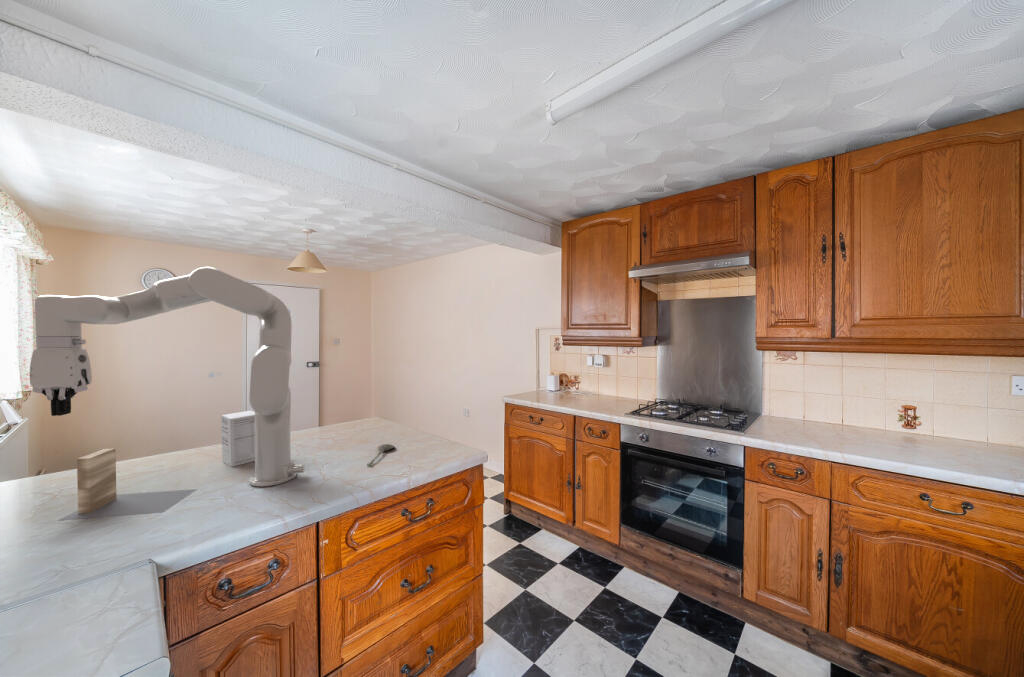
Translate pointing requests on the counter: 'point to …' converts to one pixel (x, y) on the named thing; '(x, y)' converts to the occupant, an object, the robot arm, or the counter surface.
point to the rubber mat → (135, 504)
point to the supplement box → (238, 438)
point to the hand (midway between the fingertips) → (61, 414)
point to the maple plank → (96, 480)
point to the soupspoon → (382, 448)
